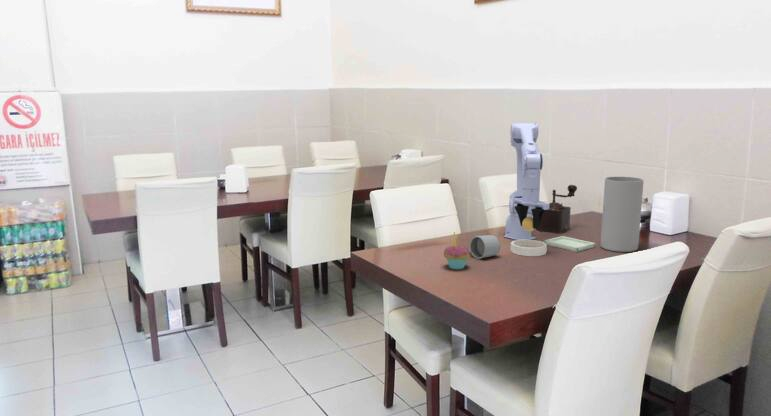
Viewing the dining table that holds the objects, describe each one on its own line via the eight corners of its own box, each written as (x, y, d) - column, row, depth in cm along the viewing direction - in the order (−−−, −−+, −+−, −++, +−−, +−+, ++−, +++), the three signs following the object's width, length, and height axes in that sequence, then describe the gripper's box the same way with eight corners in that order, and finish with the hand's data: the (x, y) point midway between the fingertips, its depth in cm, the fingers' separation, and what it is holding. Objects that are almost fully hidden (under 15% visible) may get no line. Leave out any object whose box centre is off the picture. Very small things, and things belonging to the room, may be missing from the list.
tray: (544, 244, 213) (544, 240, 213) (562, 239, 219) (562, 235, 219) (576, 252, 202) (577, 248, 202) (595, 247, 208) (595, 243, 208)
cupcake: (462, 272, 179) (463, 235, 177) (438, 268, 184) (438, 231, 182) (474, 265, 187) (474, 229, 184) (450, 261, 191) (450, 226, 189)
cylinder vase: (594, 248, 207) (599, 179, 202) (608, 242, 216) (613, 175, 211) (630, 254, 198) (635, 182, 194) (643, 247, 207) (648, 178, 202)
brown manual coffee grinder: (560, 234, 228) (563, 189, 225) (534, 230, 235) (536, 186, 232) (576, 227, 240) (579, 184, 236) (551, 223, 247) (553, 182, 243)
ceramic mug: (502, 257, 196) (502, 235, 195) (484, 261, 192) (484, 238, 190) (480, 251, 205) (480, 229, 204) (463, 254, 200) (463, 233, 199)
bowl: (503, 250, 204) (504, 243, 204) (526, 245, 211) (526, 238, 211) (530, 258, 195) (531, 250, 194) (553, 252, 202) (553, 244, 201)
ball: (519, 230, 202) (519, 216, 201) (528, 228, 205) (528, 215, 204) (530, 233, 198) (530, 219, 197) (539, 231, 201) (540, 217, 200)
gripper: (507, 187, 202) (505, 224, 205) (540, 192, 191) (538, 232, 193) (520, 185, 206) (518, 222, 209) (554, 190, 195) (552, 229, 198)
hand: (529, 226), depth 201 cm, fingers closed on ball, 5 cm apart
